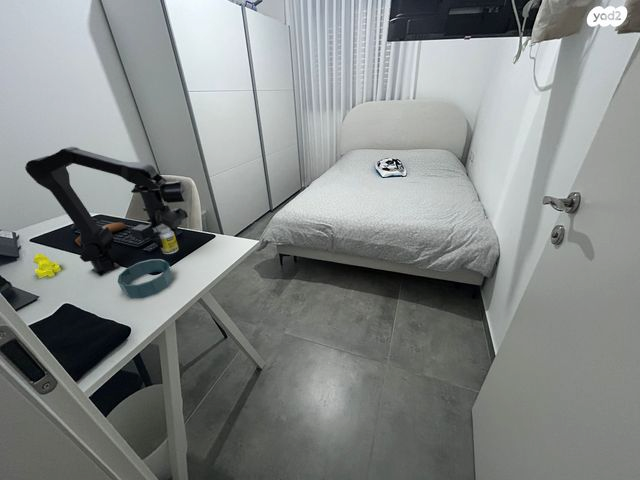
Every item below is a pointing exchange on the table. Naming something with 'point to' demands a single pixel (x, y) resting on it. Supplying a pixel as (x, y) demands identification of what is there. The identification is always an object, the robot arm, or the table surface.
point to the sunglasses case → (112, 228)
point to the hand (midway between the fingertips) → (168, 243)
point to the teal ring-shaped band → (146, 287)
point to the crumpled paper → (45, 266)
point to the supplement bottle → (167, 240)
